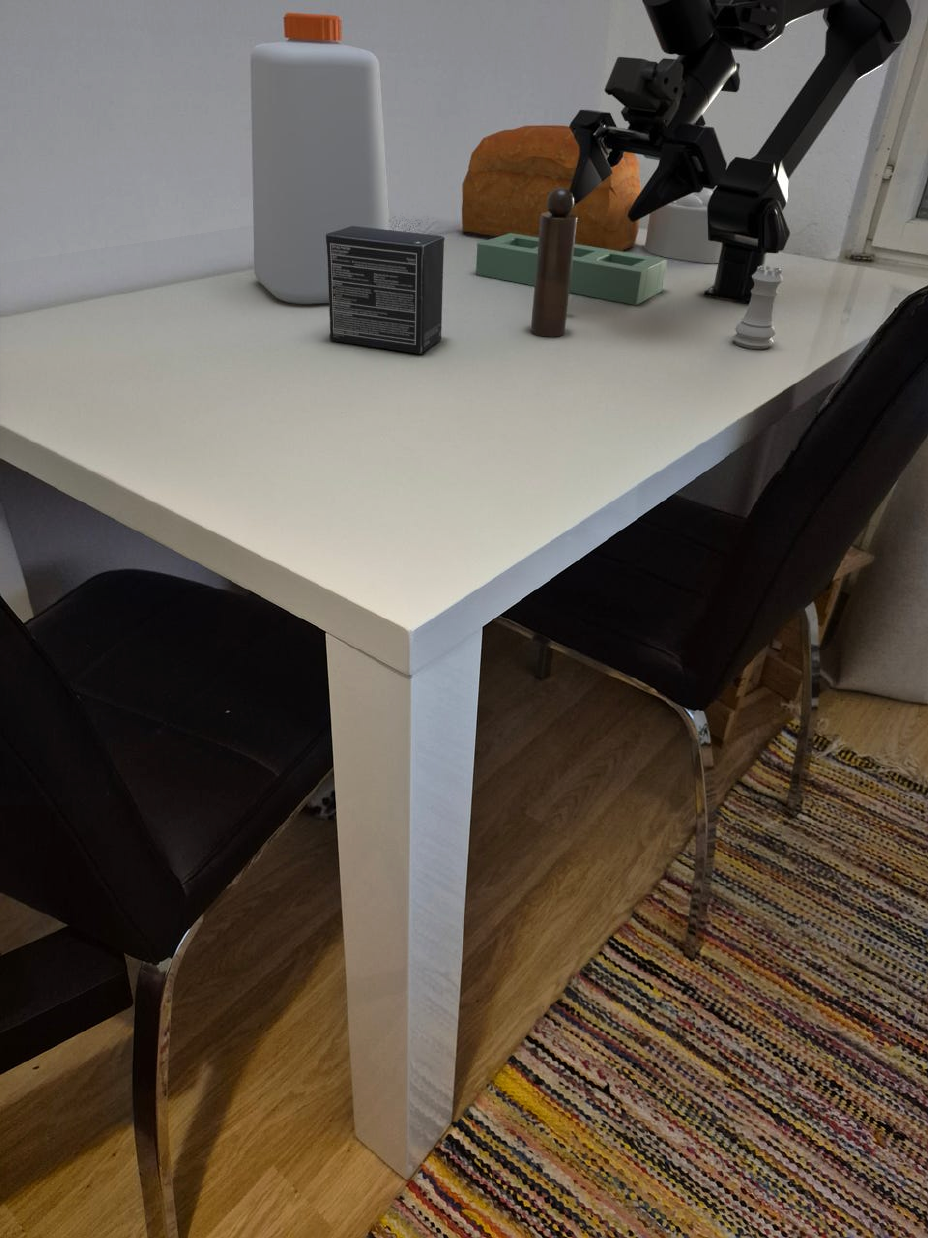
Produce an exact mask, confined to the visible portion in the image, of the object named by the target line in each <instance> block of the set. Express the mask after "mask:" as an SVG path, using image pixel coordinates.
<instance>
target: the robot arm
mask: <svg viewBox="0 0 928 1238" xmlns="http://www.w3.org/2000/svg"><path fill="white" fill-rule="evenodd" d="M641 2H642V4H643V6H644V10H645V11H646V15H647V17H648V19H649V21H650V24H651V26H652V28H653V31H654V34H655V36H656V38H657V42H658V44H659V46H660V48H661V50H662V51H663V53H665V54H667V55H676V56H677V57H676V58H668V57H667V58H666V57H663V58H662V59H661V60H660V61H659V62H657V61H651V60H648V59H645V58H637V57H627V56H617V58H616V60H615V62H614V64H613V67H612V70H611V73H610V75H609V77H608V80H607V82H606V84H605V87H604V92H605V94H607V95H608V96H612V97H613V98H615V99H616V100H617V101H618V102H619V103H620V104H621V105H623V106H624V107H623V108H622V109H621V111H620V114H621V116H622V118H623V120H624V122H627V123H628V127H627V128H623V127H618V126H617V125H616V122H615V120H614V118H613V116H612V113H611V112H607V111H600V110H594V109H580V110H579V111H578V112H577V113H576V115H575V116H574V118H573V119H572V121H570V123H569V126H568V127H570V129H571V131H572V133H573V135H574V138H575V140H576V142H577V144H578V145H579V158H578V162H577V166H576V170H575V173H574V176H573V179H572V183H571V186H570V189H569V191H570V192H571V193H572V195H573V197H574V206H575V205H576V204H577V203H579V202H580V201H581V200H583V199H584V198H585V197H586V196H587V195H588V194H590V193H591V192H592V191H593V190H594V189H595V188H596V187H597V186H599V185H600V184H601V183H602V182H603V181H604V180H606V179H607V178H608V177H609V176H610V175H611V174H612V173H613V171H612V169H611V167H613V166H615V165H617V164H618V163H619V162H620V161H621V159H622V158H623V156H624V152H629V153H635V155H641V156H643V157H644V158H645V159H648V160H655V161H659V162H658V164H657V167H656V169H655V171H654V172H653V173H652V175H651V176H650V178H649V179H648V181H647V182H646V183H645V185H644V186H643V188H642V189H641V193H640V194H639V195H638V197H637V198H636V200H635V201H634V203H633V205H632V207H631V209H630V210H629V212H628V218H629V220H630V221H631V222H635V221H637V220H639V221H640V220H641V219H642V218H644V217H646V216H648V215H650V213H652V212H654V211H656V210H658V209H659V208H661V207H663V206H665V205H667V204H669V203H671V202H674V201H676V200H678V199H680V198H683V197H685V196H687V195H689V194H691V193H692V194H693V193H700V192H701V191H702V190H703V189H708V190H713V191H712V192H713V193H712V195H711V196H710V199H709V202H708V206H707V219H708V240H709V241H716V242H720V243H722V248H721V253H720V258H719V263H717V269H716V274H715V278H714V284H713V285H712V286H710V287H709V288H707V289H706V290H704V293H703V295H704V296H708V297H711V298H712V297H713V298H718V299H723V300H729V301H735V302H741V303H745V304H749V303H750V300H751V296H752V293H751V290H752V289H753V288H754V281H753V278H752V275H753V274H754V273H755V272H756V271H757V267H759V266H764V267H765V263H766V260H767V254H779V252H781V251H784V249H785V247H786V244H787V243H788V240H789V238H790V235H791V231H790V228H789V225H788V223H787V220H786V218H785V215H784V212H783V211H784V210H785V208H786V206H787V204H788V189H789V180H790V178H791V177H792V175H793V173H794V172H795V171H796V169H797V168H798V166H799V165H800V164H801V163H802V160H803V159H804V157H805V156H806V155H807V153H808V152H809V150H810V149H811V148H812V146H813V145H814V143H815V142H816V140H817V139H818V137H819V136H820V135H821V133H822V131H823V130H824V129H825V128H826V126H827V125H828V123H829V121H830V120H831V119H832V117H833V116H834V114H835V113H836V111H837V109H838V108H839V107H840V106H841V104H842V103H843V101H844V100H845V99H846V97H847V95H848V94H849V92H850V91H851V90H852V88H853V86H854V85H855V84H856V83H857V81H858V80H859V79H861V78H863V77H864V76H866V75H868V74H870V73H871V72H873V71H875V70H876V69H878V68H880V67H881V66H883V65H884V64H885V63H886V62H887V60H889V59H890V57H891V56H892V55H893V54H894V53H895V52H896V50H897V49H898V48H899V47H900V46H901V44H902V42H903V41H904V40H905V38H906V37H907V35H908V34H909V30H910V27H911V24H912V9H911V8H910V6H909V3H908V0H641ZM822 10H823V13H822V20H823V21H824V23H825V25H826V26H827V27H826V28H827V29H826V31H825V42H824V55H823V57H822V59H821V60H820V61H819V63H818V64H817V66H816V68H814V70H813V71H812V73H811V74H810V76H809V78H808V79H807V80H806V82H805V83H804V85H803V86H802V88H801V89H800V91H799V92H798V94H797V95H796V97H795V98H794V99H793V101H792V102H791V104H790V105H789V107H788V108H787V109H786V111H785V112H784V113H783V115H782V117H781V118H780V119H779V121H778V123H776V125H775V127H774V129H773V130H772V131H771V133H770V134H769V135H768V137H767V139H766V140H765V142H764V143H763V144H762V146H761V147H760V149H759V150H758V152H757V153H756V154H755V155H754V156H752V157H750V158H746V157H742V156H741V157H740V156H735V157H734V158H733V159H732V160H731V161H730V162H729V163H728V164H727V158H726V156H725V154H724V152H723V149H722V146H721V142H720V141H719V140H720V139H719V138H718V135H717V133H716V130H715V127H713V126H706V124H707V123H706V121H705V118H704V115H703V114H704V113H705V112H706V111H707V109H708V107H710V105H711V104H712V102H713V101H714V99H715V98H716V97H717V95H718V94H719V93H720V92H726V93H727V92H728V93H739V92H740V87H741V76H740V67H741V64H740V63H739V62H736V60H735V56H734V54H733V51H745V52H746V51H748V52H759V51H762V50H763V49H765V48H766V47H768V46H769V45H771V44H772V43H774V42H775V41H776V40H778V39H779V38H780V37H782V35H783V34H784V31H785V28H786V27H787V26H788V25H789V24H790V23H793V22H795V21H797V20H800V19H802V18H805V17H807V16H810V15H812V14H815V13H817V12H819V11H822Z"/></svg>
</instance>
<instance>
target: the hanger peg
mask: <svg viewBox="0 0 928 1238" xmlns="http://www.w3.org/2000/svg"><path fill="white" fill-rule="evenodd" d="M573 207H574V197H573V195H572V193H571V192H570V191H569V190H568V189H566V188H556V189H554V190H553V191H552V192H551V193H550V194H549V196H548V199H547V208H548V210H549V212H546V213H542V214H541V220H540V231H539V243H538V254H537V265H536V276H535V286H534V289H533V299H532V301H533V302H532V311H531V322H530V323H531V324H530V332H531V333H533V334H534V335H537V336H540V337H547V338H555V337H561V336H563V335H565V333H566V324H567V315H568V305H569V298H570V293H569V289H570V280H571V271H572V262H573V253H574V244H575V235H576V226H577V216H576V215H573V214H569V213H570V212H571V211H572V209H573Z"/></svg>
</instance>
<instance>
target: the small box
mask: <svg viewBox="0 0 928 1238" xmlns="http://www.w3.org/2000/svg"><path fill="white" fill-rule="evenodd" d="M326 244H327V257H328V285H329V303H328V305H329V308H328V309H329V340H330V341H332V342H337V343H344V344H351V345H357V346H358V345H359V346H364V347H365V346H366V347H372V348H378V349H384V350H392V351H398V352H405V353H411V354H416V355H417V354H418V355H421V354H423V353H425V352H426V351H427V350H428V349H429V348H430V347H432V346H434V345H435V344H436V343H438V342H439V341H440V340H441V339H442V324H443V322H442V321H443V285H444V282H443V281H444V253H445V251H444V250H445V236H444V235H438V234H427V233H419V232H410V231H402V230H401V231H400V230H393V229H392V230H391V229H390V230H384V229H376V228H367V227H357V226H351V227H348V228H344V229H341V230H338V231H334V232H331V233H327V234H326Z"/></svg>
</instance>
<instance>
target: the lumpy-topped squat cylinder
mask: <svg viewBox="0 0 928 1238" xmlns="http://www.w3.org/2000/svg"><path fill="white" fill-rule="evenodd" d="M712 193H713V191H712V190H711V189H708V188H703V190H702V191H701V192H700V193H691V194H689V195H687V196H685V197H683V198H680V199H678V200H676V201H674V202H671V203H669V204H667V205H665V206H663V207H661V208H659V209H658V210H656V211H654V212H652V213H650V214H649V217H648V224H647V231H646V236H645V243H644V250H645V251H647V252H648V253H651V254H654V255H655V256H660V257H662V258H663V257H664V258H666V259H673V260H680V261H686V262H693V263H702V264H718V263H719V258H720V253H721V248H722V243H720V242H716V241H709V240H708V219H707V206H708V202H709V199H710V196H711V195H712Z"/></svg>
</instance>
